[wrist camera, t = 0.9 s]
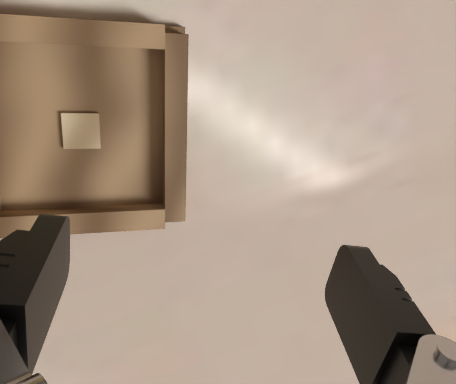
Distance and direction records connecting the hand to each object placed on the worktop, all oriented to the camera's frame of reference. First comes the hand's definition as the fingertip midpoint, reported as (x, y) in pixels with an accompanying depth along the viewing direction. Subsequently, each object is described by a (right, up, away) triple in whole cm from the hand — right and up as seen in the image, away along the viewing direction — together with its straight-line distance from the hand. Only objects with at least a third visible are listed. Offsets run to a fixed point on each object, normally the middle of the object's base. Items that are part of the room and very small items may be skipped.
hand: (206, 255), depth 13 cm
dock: (-10, +6, +17) cm, 20 cm away
